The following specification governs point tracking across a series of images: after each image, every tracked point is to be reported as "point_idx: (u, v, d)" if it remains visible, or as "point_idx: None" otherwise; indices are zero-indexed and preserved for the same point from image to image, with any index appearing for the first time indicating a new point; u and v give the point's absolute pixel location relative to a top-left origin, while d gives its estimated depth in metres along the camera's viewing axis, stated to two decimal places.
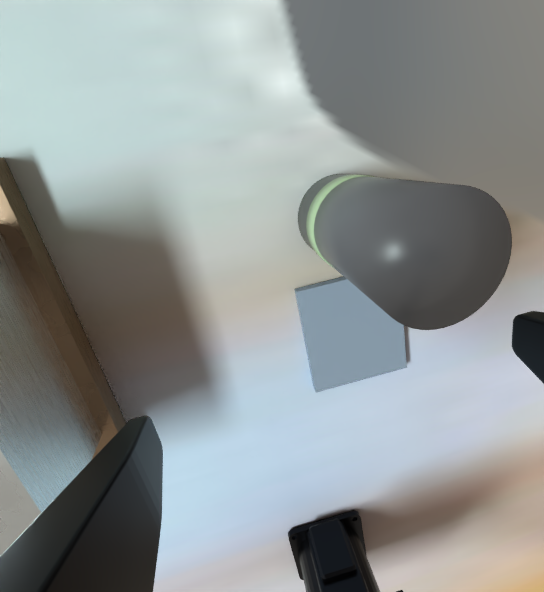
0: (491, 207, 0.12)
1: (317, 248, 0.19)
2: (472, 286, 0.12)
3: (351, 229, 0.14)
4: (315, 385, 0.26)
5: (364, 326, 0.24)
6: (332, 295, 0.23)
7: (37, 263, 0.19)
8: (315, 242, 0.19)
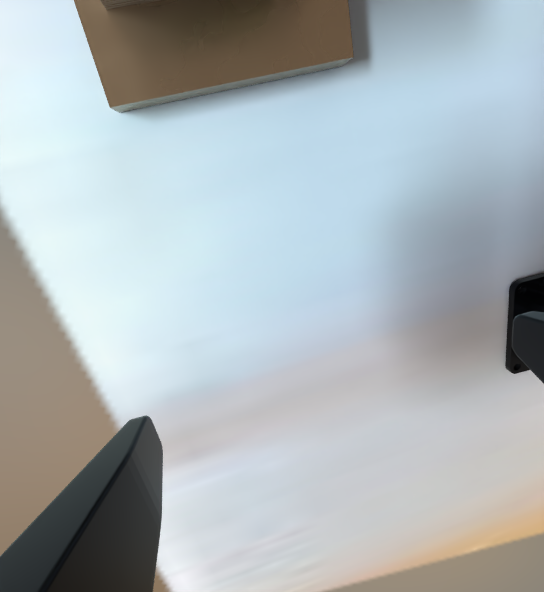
0: None
1: None
2: None
3: None
4: None
5: None
6: None
7: None
8: None
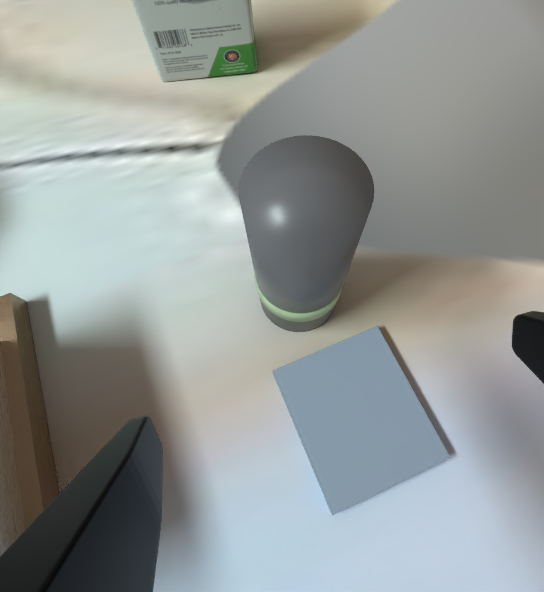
0: (329, 144, 0.14)
1: (263, 296, 0.19)
2: (345, 201, 0.13)
3: None
4: (328, 502, 0.19)
5: (365, 403, 0.20)
6: (313, 369, 0.21)
7: (22, 371, 0.21)
8: (260, 291, 0.20)
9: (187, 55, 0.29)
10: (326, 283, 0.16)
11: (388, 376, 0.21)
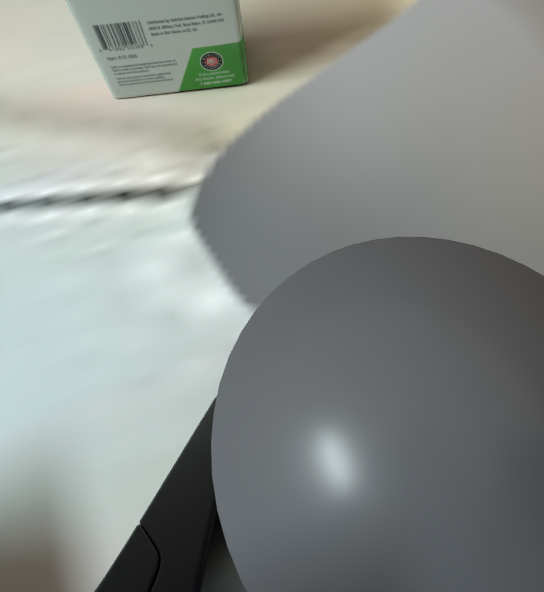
0: (484, 265, 0.05)
1: None
2: None
3: None
4: None
5: None
6: None
7: None
8: None
9: (147, 60, 0.20)
10: None
11: None
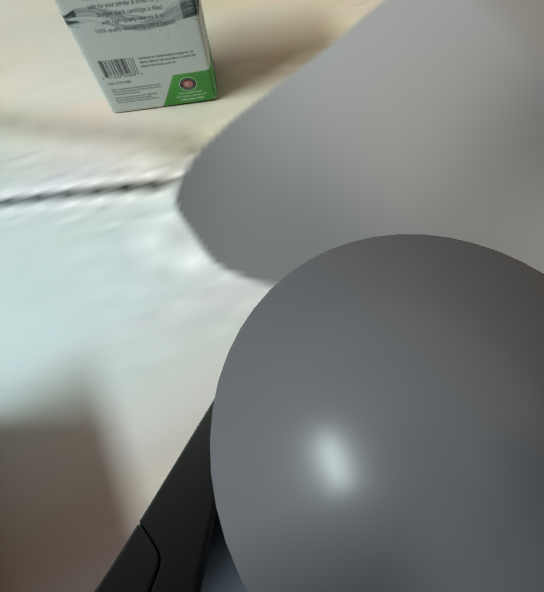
0: (482, 262, 0.05)
1: None
2: None
3: None
4: None
5: None
6: None
7: None
8: None
9: (139, 84, 0.27)
10: None
11: None
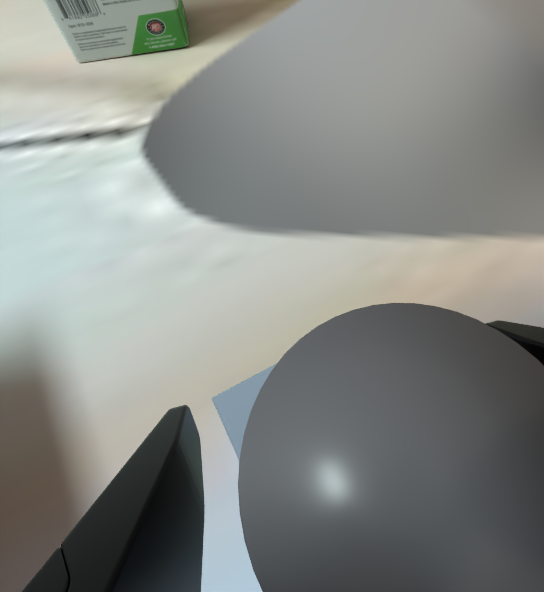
0: (464, 329, 0.06)
1: None
2: None
3: None
4: None
5: None
6: None
7: None
8: None
9: (102, 27, 0.25)
10: None
11: None
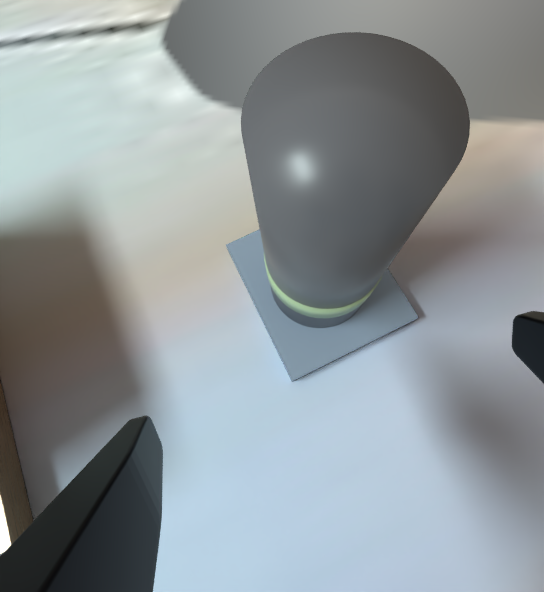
0: (390, 45, 0.08)
1: (276, 285, 0.14)
2: (421, 137, 0.08)
3: None
4: (287, 369, 0.17)
5: None
6: None
7: None
8: (271, 278, 0.15)
9: None
10: (370, 271, 0.11)
11: None
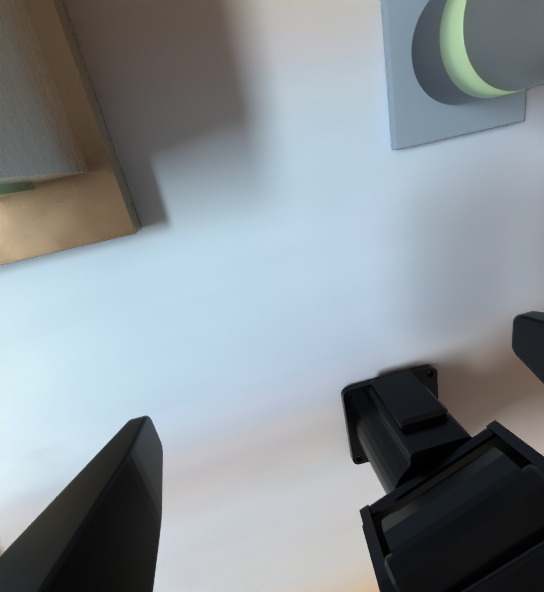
0: None
1: (464, 42, 0.13)
2: None
3: None
4: (397, 136, 0.18)
5: None
6: None
7: None
8: (463, 31, 0.13)
9: None
10: None
11: None
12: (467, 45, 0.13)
